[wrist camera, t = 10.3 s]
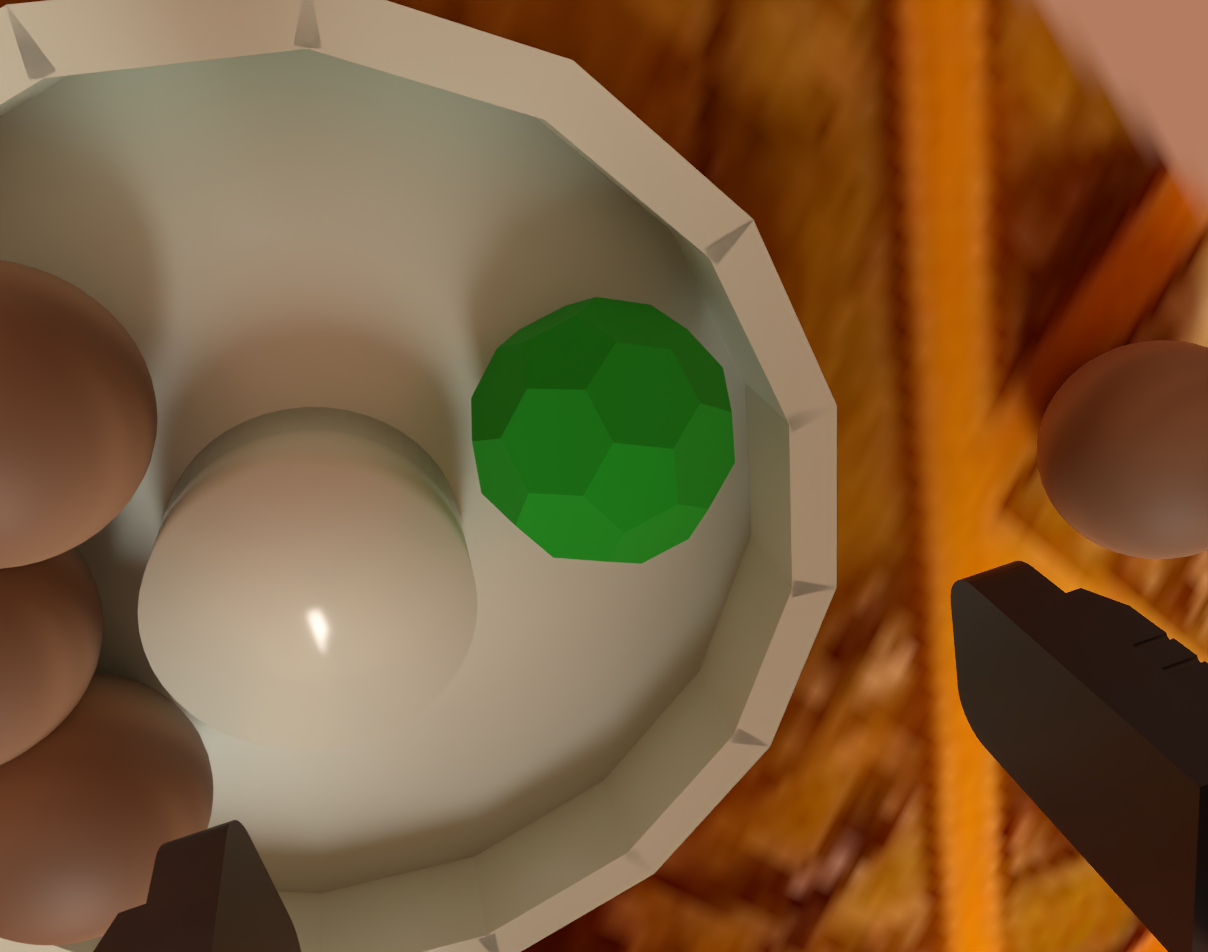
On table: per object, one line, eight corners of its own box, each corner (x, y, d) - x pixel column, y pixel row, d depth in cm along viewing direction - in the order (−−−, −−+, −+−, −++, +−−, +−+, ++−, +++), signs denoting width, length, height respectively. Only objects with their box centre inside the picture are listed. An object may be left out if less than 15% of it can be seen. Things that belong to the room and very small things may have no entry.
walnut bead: (1192, 438, 27) (1357, 523, 23) (1026, 535, 27) (1159, 639, 23) (1150, 276, 25) (1325, 335, 21) (969, 382, 25) (1104, 464, 21)
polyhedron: (637, 230, 21) (714, 289, 16) (725, 431, 23) (812, 529, 19) (413, 346, 21) (431, 435, 16) (523, 537, 23) (564, 658, 19)
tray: (894, 613, 27) (976, 704, 24) (210, 1015, 28) (191, 1163, 24) (486, -253, 18) (523, -316, 14) (-558, 379, 18) (-778, 473, 14)
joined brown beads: (424, 650, 24) (443, 801, 19) (82, 852, 24) (22, 1049, 19) (51, 176, 18) (-44, 232, 14) (-392, 442, 18) (-630, 586, 14)
